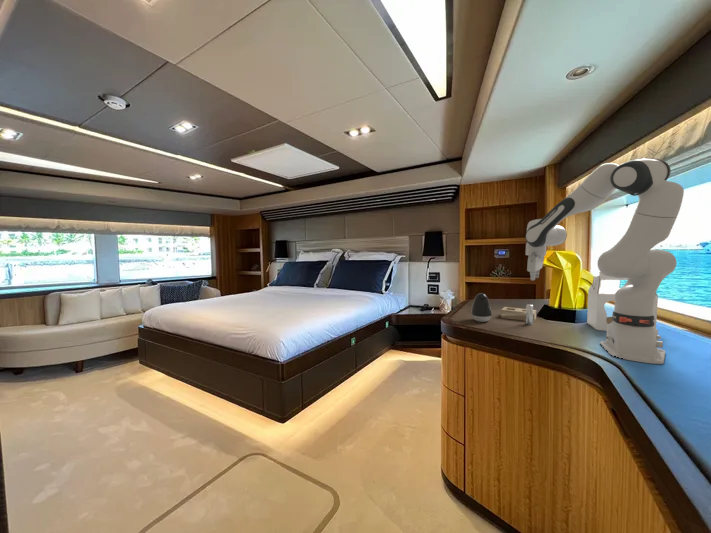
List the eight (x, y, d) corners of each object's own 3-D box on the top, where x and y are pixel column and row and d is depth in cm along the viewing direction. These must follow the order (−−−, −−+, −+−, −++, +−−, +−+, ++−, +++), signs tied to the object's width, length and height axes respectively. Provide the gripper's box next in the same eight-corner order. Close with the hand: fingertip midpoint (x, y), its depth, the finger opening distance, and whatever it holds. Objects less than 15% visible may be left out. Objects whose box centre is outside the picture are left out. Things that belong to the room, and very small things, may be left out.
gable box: (642, 326, 147) (645, 269, 144) (656, 334, 134) (660, 272, 132) (586, 323, 155) (588, 268, 153) (595, 330, 143) (597, 271, 141)
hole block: (534, 321, 159) (534, 313, 159) (501, 317, 169) (501, 309, 168) (536, 318, 166) (536, 310, 166) (504, 314, 176) (504, 306, 176)
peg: (532, 325, 153) (532, 305, 152) (525, 324, 155) (525, 305, 154) (532, 323, 155) (533, 304, 154) (526, 323, 157) (526, 304, 156)
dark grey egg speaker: (471, 322, 160) (472, 294, 159) (470, 318, 170) (470, 291, 169) (492, 323, 157) (493, 295, 156) (490, 319, 167) (490, 291, 166)
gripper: (539, 253, 141) (538, 282, 143) (546, 250, 157) (545, 277, 158) (524, 252, 146) (523, 281, 147) (532, 250, 161) (531, 276, 163)
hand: (534, 279), depth 153 cm, fingers open, 8 cm apart
